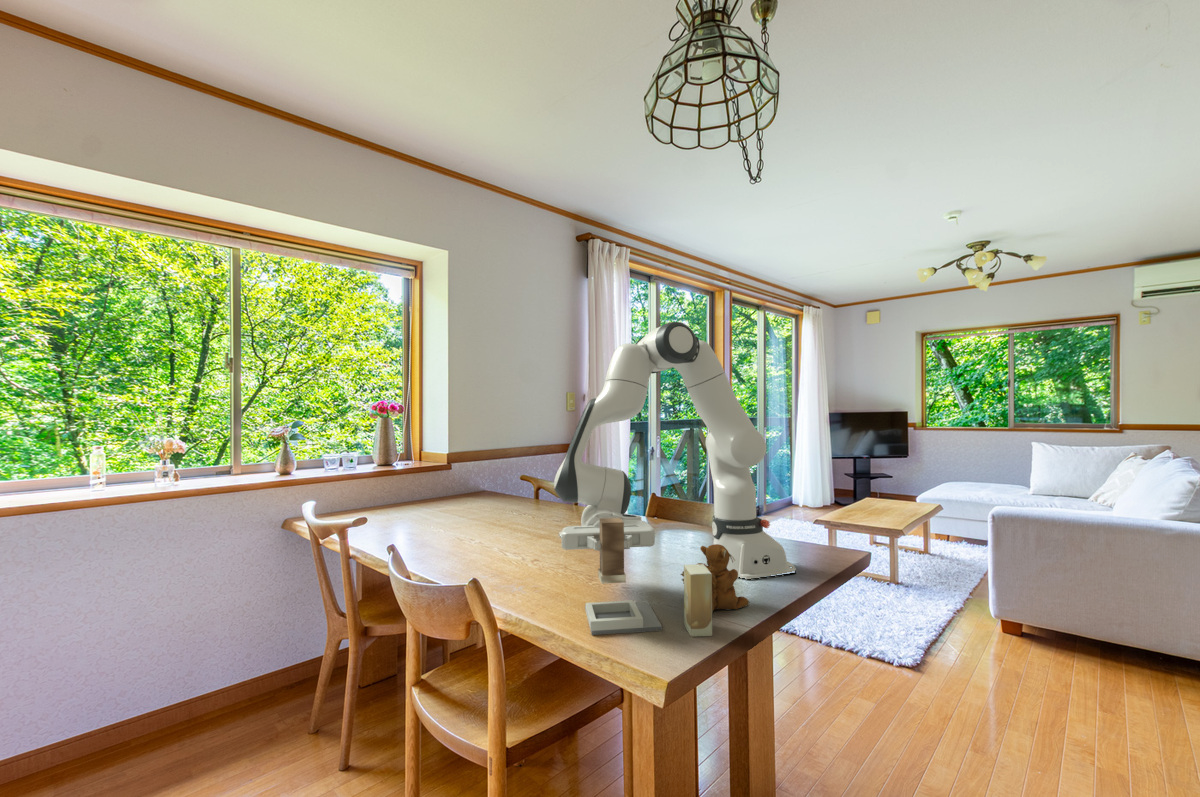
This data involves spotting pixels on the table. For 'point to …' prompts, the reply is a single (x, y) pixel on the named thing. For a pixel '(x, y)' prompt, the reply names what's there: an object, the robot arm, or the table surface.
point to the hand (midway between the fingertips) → (612, 545)
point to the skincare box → (698, 600)
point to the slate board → (621, 617)
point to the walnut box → (612, 551)
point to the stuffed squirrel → (722, 578)
